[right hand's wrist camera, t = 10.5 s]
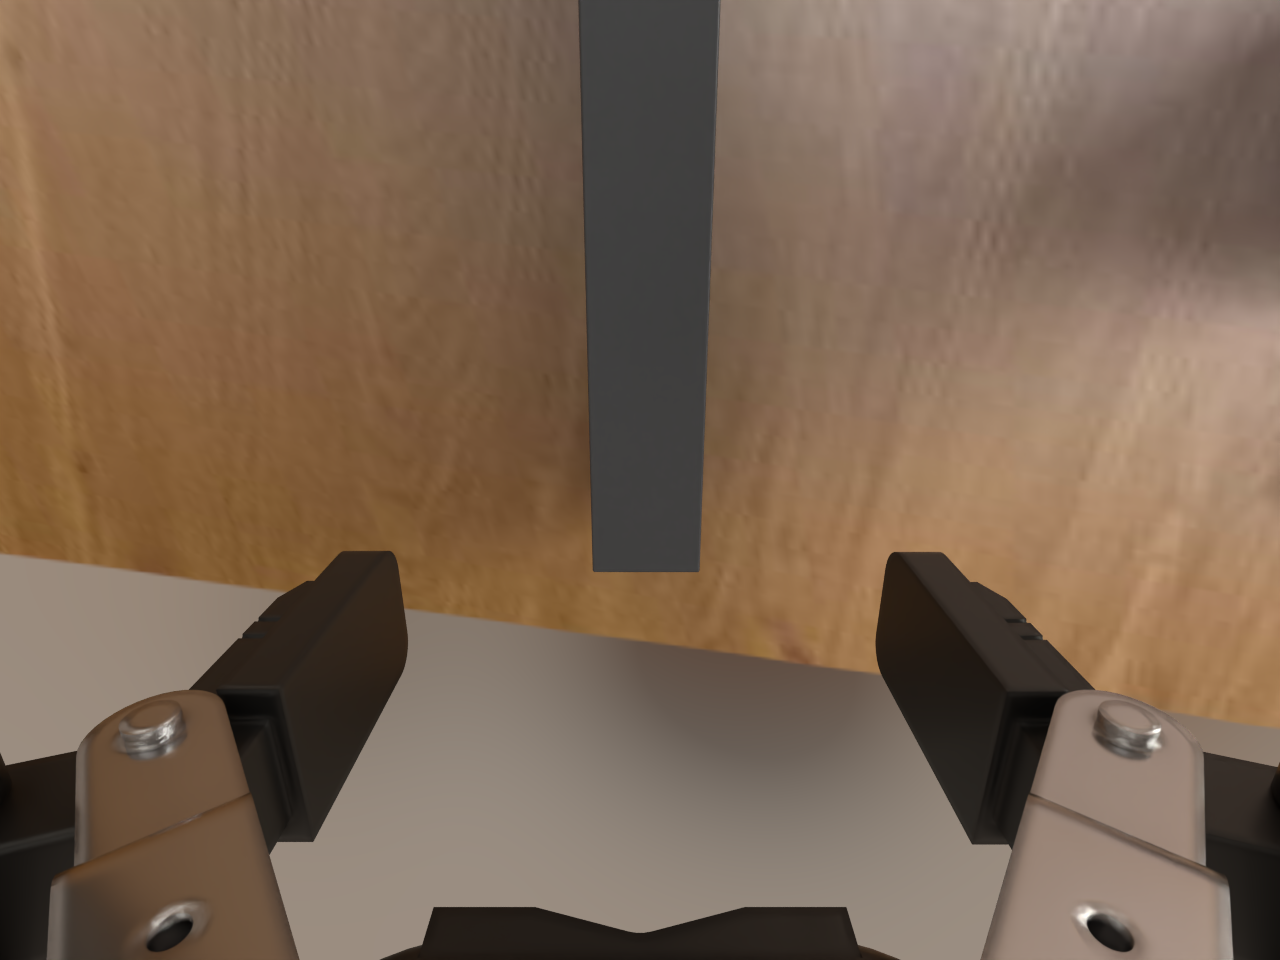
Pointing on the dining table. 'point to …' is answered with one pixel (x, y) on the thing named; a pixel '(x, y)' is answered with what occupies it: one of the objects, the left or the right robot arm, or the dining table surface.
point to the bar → (647, 272)
